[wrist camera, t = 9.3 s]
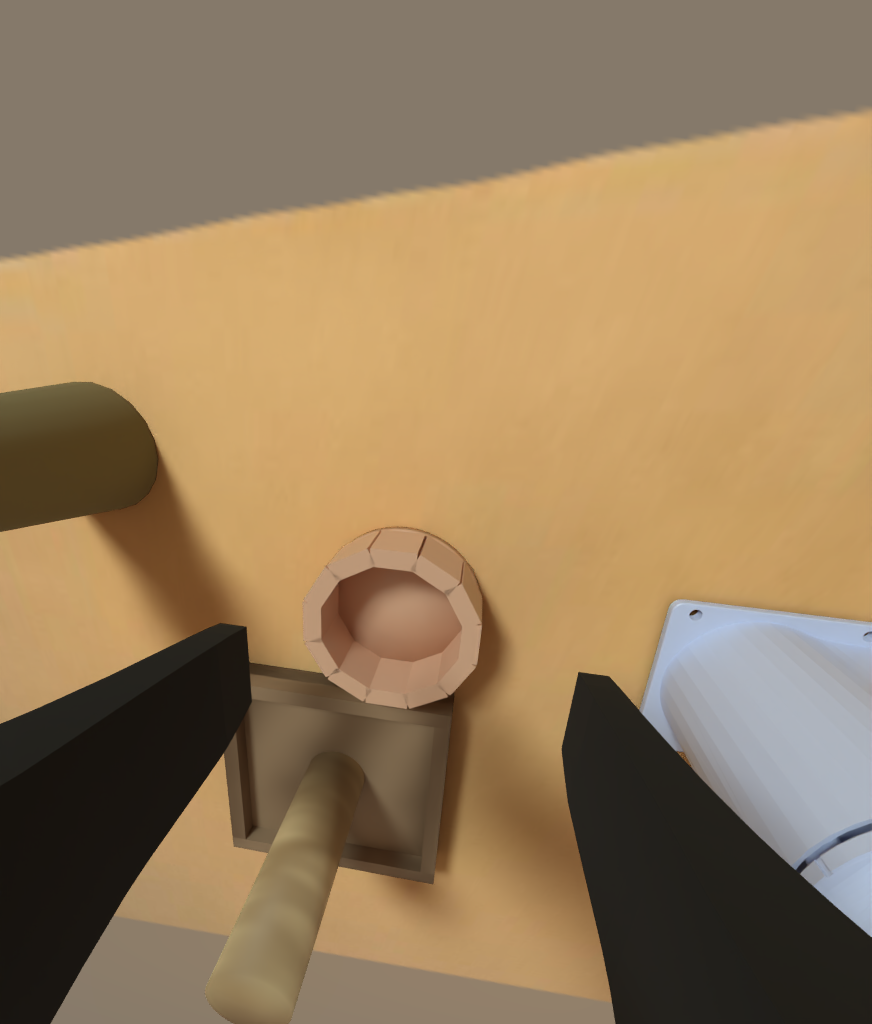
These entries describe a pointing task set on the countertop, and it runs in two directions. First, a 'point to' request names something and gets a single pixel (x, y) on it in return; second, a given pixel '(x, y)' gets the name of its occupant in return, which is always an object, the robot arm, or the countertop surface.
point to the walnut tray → (362, 736)
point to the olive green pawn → (71, 454)
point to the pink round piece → (395, 618)
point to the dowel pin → (288, 899)
